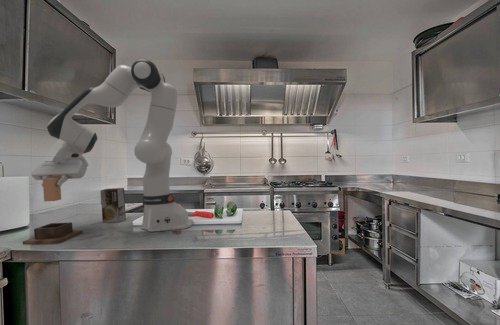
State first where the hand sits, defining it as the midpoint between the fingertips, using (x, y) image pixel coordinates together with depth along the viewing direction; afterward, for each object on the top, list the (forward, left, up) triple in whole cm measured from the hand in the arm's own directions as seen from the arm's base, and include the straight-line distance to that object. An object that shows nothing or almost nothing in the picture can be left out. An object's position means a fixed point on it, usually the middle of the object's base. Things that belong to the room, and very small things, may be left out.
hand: (50, 185), depth 111 cm
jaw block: (0, -1, -6) cm, 6 cm away
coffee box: (-10, -28, -21) cm, 37 cm away
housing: (0, 0, -21) cm, 21 cm away
